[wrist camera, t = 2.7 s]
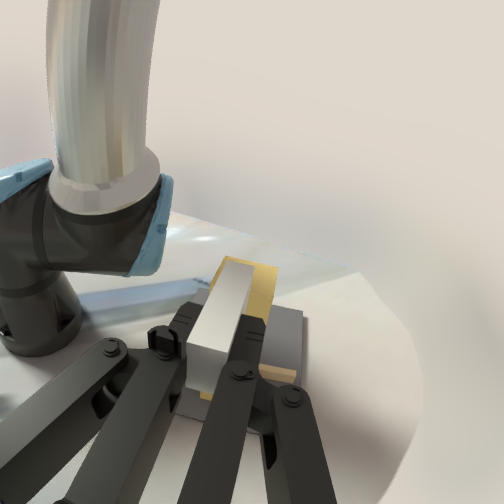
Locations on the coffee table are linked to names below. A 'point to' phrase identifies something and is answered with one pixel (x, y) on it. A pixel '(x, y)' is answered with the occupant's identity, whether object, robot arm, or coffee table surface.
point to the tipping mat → (271, 361)
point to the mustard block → (253, 293)
